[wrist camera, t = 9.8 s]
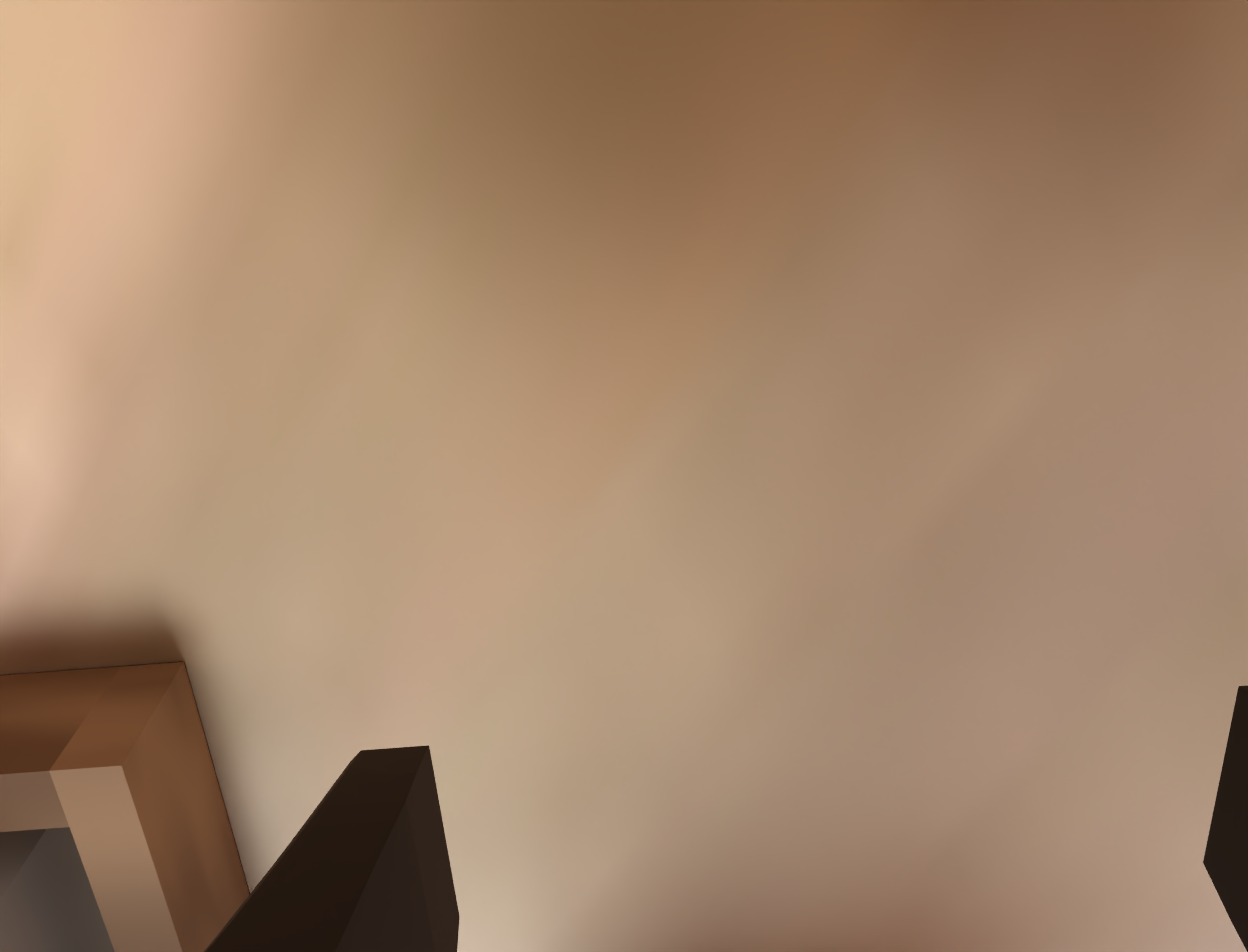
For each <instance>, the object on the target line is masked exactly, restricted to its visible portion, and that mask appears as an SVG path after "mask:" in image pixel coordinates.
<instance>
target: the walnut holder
mask: <svg viewBox="0 0 1248 952" xmlns="http://www.w3.org/2000/svg"><path fill="white" fill-rule="evenodd" d="M64 827H70V830H71V833H72V835H73V838H74V841H75V844H76V846H77V849H78V852H79V855H80V857H81V860H82V863H83V866H84V868H85V871H86V874H87V877H88V879H89V882H90V885H91V888H92V891H93V893H94V896H95V899H96V902H97V904H98V907H99V910H100V913H101V915H102V918H103V921H104V924H105V926H106V929H107V932H108V935H109V937H110V940H111V943H112V946H113V948H114V951H115V952H204V951H205V949H206V948H207V947H208V946H209V945H210V943H211V942H212V941H213V940H214V938H215V937H216V936H217V935H218V934H219V932H220V931H221V930H222V929H223V927H224V926H225V925H226V924H227V922H228V921H229V920H230V919H231V917H232V916H233V915H234V914H235V912H236V911H237V910H238V909H239V907H240V906H241V905H242V904H243V902H244V901H245V900H246V899H247V897H248V896H249V895H250V894H249V891H248V887H247V884H246V880H245V877H244V873H243V869H242V866H241V862H240V859H239V855H238V852H237V848H236V845H235V841H234V838H233V834H232V831H231V827H230V824H229V820H228V817H227V813H226V809H225V806H224V802H223V799H222V795H221V792H220V788H219V785H218V781H217V778H216V774H215V771H214V767H213V764H212V760H211V757H210V753H209V749H208V746H207V742H206V739H205V735H204V732H203V728H202V725H201V721H200V718H199V714H198V711H197V707H196V704H195V700H194V697H193V693H192V689H191V686H190V682H189V679H188V675H187V672H186V668H185V665H184V662H177V663H163V664H149V665H136V666H122V667H109V668H95V669H81V670H68V671H54V672H41V673H27V674H14V675H0V832H9V831H23V830H37V829H50V828H64Z"/></svg>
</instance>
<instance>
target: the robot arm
mask: <svg viewBox="0 0 1248 952" xmlns="http://www.w3.org/2000/svg"><path fill="white" fill-rule="evenodd" d="M1203 863H1204V865H1205V867H1206V870H1207V872H1208V874H1209V876H1210V878H1211V880H1212V882H1213V884H1214V886H1215V888H1216V890H1217V892H1218V894H1219V897H1220V899H1221V901H1222V903H1223V905H1224V907H1225V909H1226V911H1227V913H1228V915H1229V917H1230V919H1231V921H1232V923H1233V925H1234V927H1235V929H1236V931H1237V933H1238V935H1239V937H1240V939H1241V941H1242V942H1243V944H1244V946H1245V948H1246V950H1247V952H1248V686H1239V688H1238V692H1237V697H1236V702H1235V707H1234V712H1233V717H1232V722H1231V727H1230V732H1229V737H1228V742H1227V747H1226V752H1225V757H1224V762H1223V767H1222V772H1221V777H1220V782H1219V787H1218V792H1217V797H1216V801H1215V806H1214V811H1213V816H1212V821H1211V826H1210V831H1209V836H1208V841H1207V846H1206V851H1205V856H1204V861H1203ZM458 929H459V912H458V906H457V901H456V895H455V890H454V884H453V878H452V873H451V867H450V861H449V856H448V850H447V845H446V839H445V833H444V828H443V822H442V816H441V811H440V805H439V800H438V794H437V788H436V783H435V777H434V771H433V766H432V760H431V755H430V749H429V746H417V747H403V748H390V749H376V750H362V751H360V752H359V753H358V754H357V755H356V756H355V758H354V759H353V760H352V761H351V762H350V763H349V764H348V766H347V767H346V768H345V770H344V771H343V773H342V774H341V775H340V777H339V778H338V779H337V781H336V782H335V783H334V785H333V786H332V787H331V789H330V790H329V791H328V793H327V794H326V795H325V797H324V798H323V800H322V801H321V802H320V804H319V805H318V806H317V808H316V809H315V810H314V812H313V813H312V814H311V816H310V817H309V818H308V820H307V821H306V822H305V824H304V825H303V826H302V828H301V829H300V831H299V832H298V833H297V834H296V836H295V837H294V838H293V840H292V841H291V842H290V844H289V845H288V846H287V848H286V849H285V850H284V852H283V853H282V854H281V855H280V857H279V858H278V859H277V861H276V862H275V863H274V865H273V866H272V867H271V869H270V870H269V871H268V872H267V874H266V875H265V876H264V877H263V879H262V880H261V881H260V882H259V884H258V885H257V886H256V887H255V889H254V890H253V891H252V892H251V894H250V895H249V896H248V897H247V899H246V900H245V901H244V902H243V904H242V905H241V906H240V907H239V909H238V910H237V911H236V912H235V914H234V915H233V916H232V917H231V919H230V920H229V921H228V922H227V924H226V925H225V926H224V927H223V929H222V930H221V931H220V932H219V934H218V935H217V936H216V937H215V938H214V940H213V941H212V942H211V943H210V945H209V946H208V947H207V948H206V949H205V951H204V952H457V943H458Z"/></svg>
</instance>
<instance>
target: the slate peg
mask: <svg viewBox="0 0 1248 952" xmlns="http://www.w3.org/2000/svg"><path fill="white" fill-rule="evenodd" d="M0 952H115V951H114V948H113V946H112V943H111V940H110V937H109V935H108V932H107V929H106V926H105V924H104V921H103V918H102V915H101V913H100V910H99V907H98V904H97V902H96V899H95V896H94V893H93V891H92V888H91V885H90V882H89V879H88V877H87V874H86V871H85V868H84V866H83V863H82V860H81V857H80V855H79V852H78V849H77V846H76V844H75V841H74V838H73V835H72V833H71V830H70V827H64V828H50V829H37V830H23V831H9V832H0Z"/></svg>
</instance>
